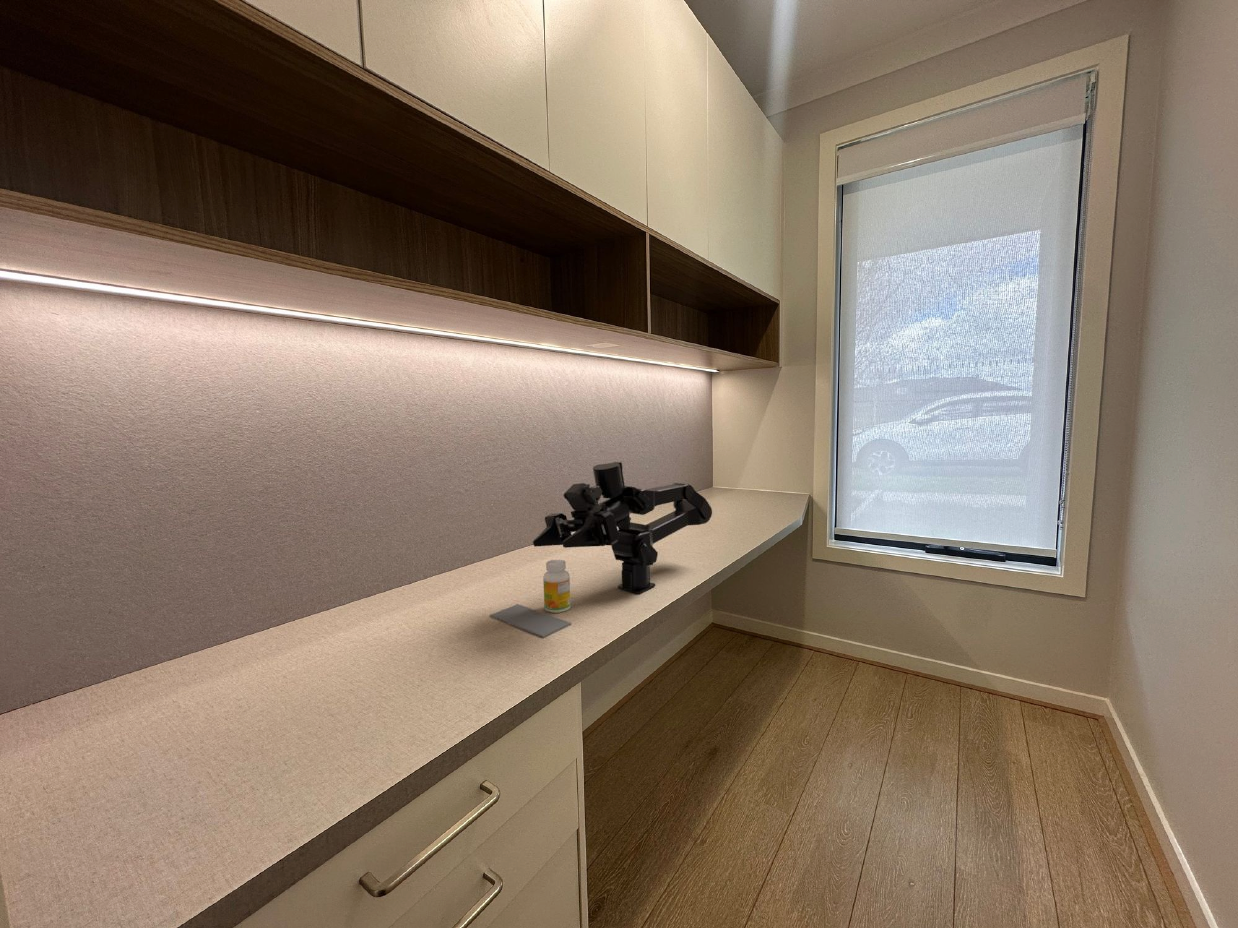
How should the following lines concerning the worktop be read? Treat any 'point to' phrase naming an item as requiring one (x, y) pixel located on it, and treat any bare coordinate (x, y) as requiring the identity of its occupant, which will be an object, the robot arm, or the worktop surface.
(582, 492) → the robot arm
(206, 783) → the worktop surface
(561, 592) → the supplement bottle
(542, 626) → the mat
